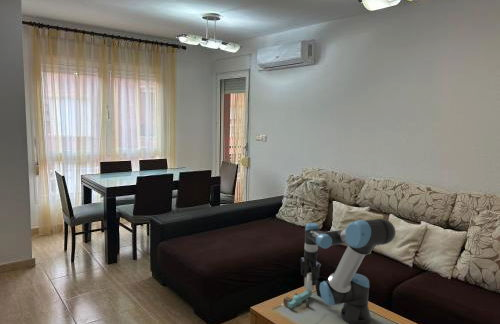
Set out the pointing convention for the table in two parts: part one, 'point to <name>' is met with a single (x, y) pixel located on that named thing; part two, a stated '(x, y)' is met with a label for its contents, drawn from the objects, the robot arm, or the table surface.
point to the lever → (304, 295)
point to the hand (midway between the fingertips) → (309, 288)
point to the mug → (317, 284)
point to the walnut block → (286, 301)
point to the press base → (301, 306)
